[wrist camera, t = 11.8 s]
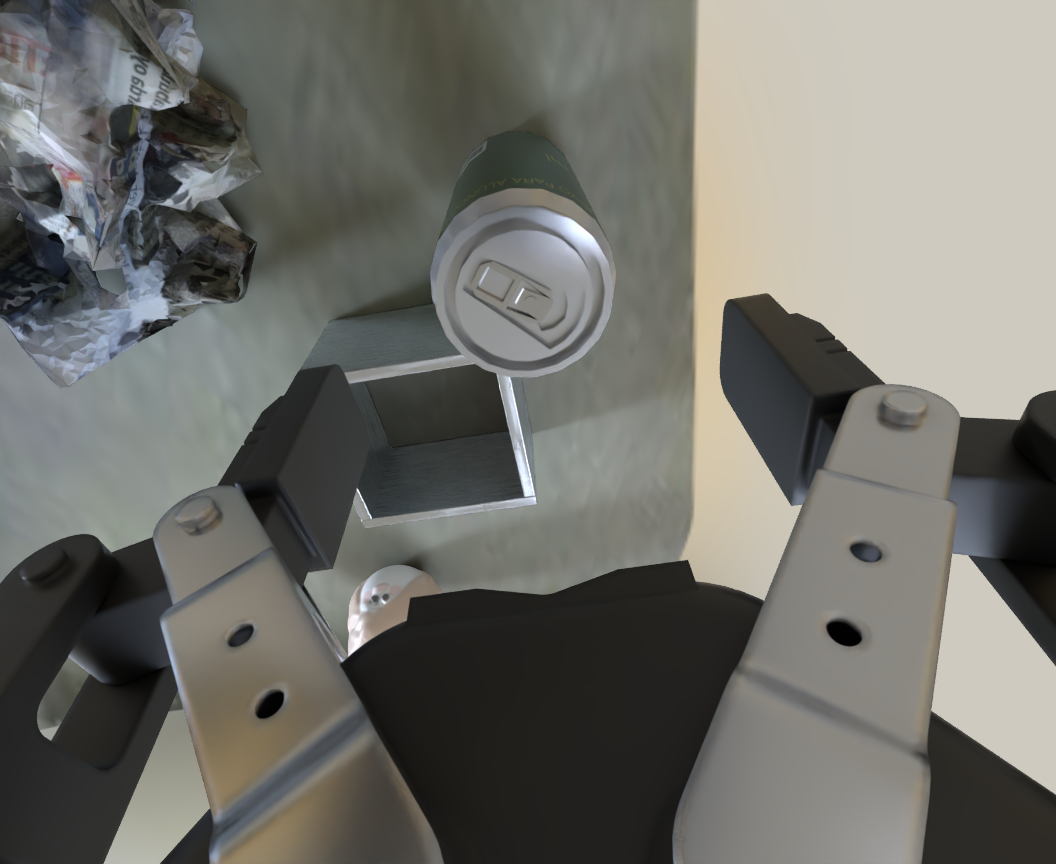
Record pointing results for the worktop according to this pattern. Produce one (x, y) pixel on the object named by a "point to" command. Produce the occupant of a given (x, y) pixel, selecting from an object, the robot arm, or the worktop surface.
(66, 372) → the foil
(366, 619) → the garlic bulb
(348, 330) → the open square box
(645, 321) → the worktop surface
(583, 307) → the beer can
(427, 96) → the worktop surface
